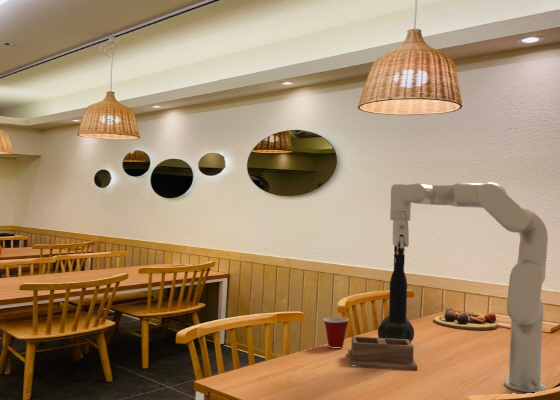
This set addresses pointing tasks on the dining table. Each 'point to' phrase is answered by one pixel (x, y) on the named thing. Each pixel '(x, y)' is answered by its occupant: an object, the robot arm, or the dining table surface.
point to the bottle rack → (382, 353)
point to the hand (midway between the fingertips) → (399, 264)
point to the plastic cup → (336, 331)
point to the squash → (395, 330)
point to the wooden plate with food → (467, 320)
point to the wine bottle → (398, 294)
